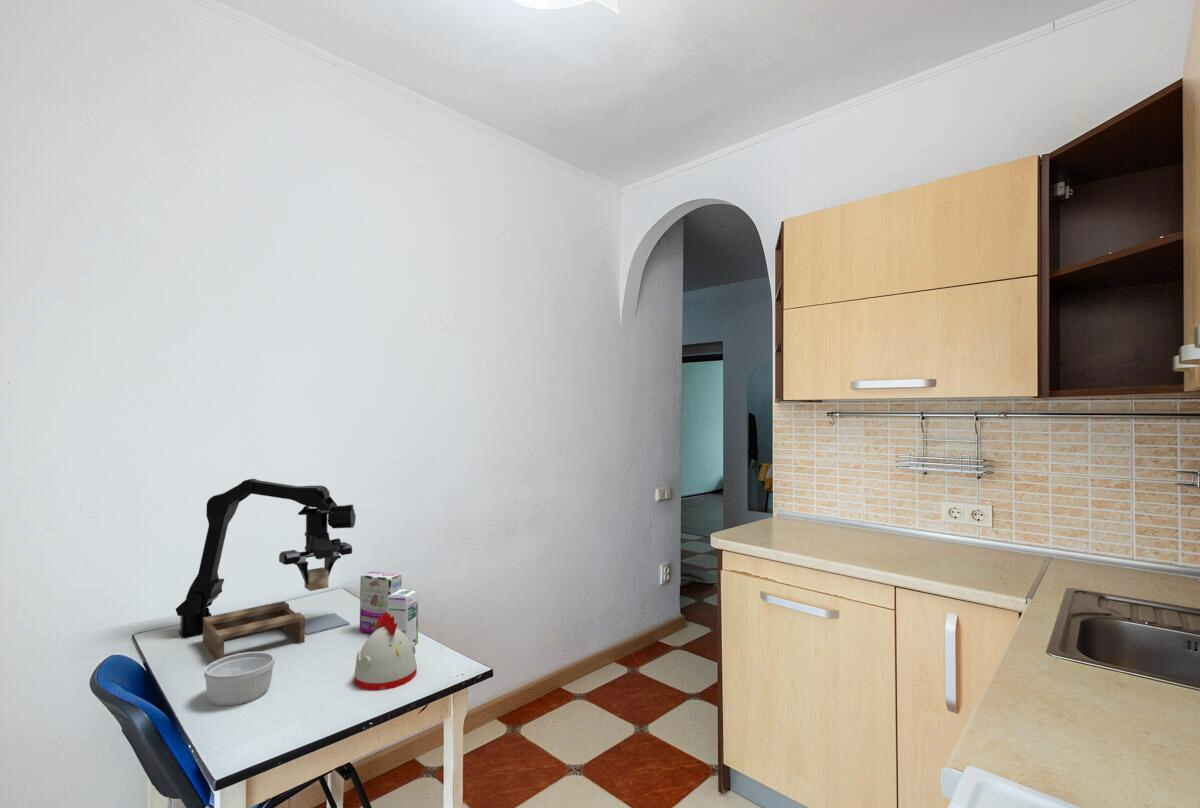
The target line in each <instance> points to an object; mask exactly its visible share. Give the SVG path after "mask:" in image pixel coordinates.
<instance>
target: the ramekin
mask: <svg viewBox="0 0 1200 808" xmlns="http://www.w3.org/2000/svg"><path fill="white" fill-rule="evenodd" d="M275 659H276V658H275V656H274V654H272V653H270V652H266V651H247V652H241V653H240V652H239V653H235V654H230V655H228V656H224V658H221V659H219V660H216V661H215V660H214V661H212V662H211V663H210V664H208V665H207V666H206V667H205V668H204V672H203V677H204V680H205V686H206V695H207V698H208V700H209V701H210V702H211V703H212V704H213V705H215V706H221V707H229V706H230V707H231V706H237V705H242V704H245V703H249V702H252V701H253V700H254V701H255V700H256V699H258V698H260V697H261V696H263V695H264V694H265V693H266V692H267V691H268V689H269V688H270V686H271V681H272V676H273V668H274V665H275Z"/></svg>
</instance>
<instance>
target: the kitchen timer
mask: <svg viewBox="0 0 1200 808" xmlns="http://www.w3.org/2000/svg"><path fill="white" fill-rule="evenodd" d="M377 622H378V628H379V629H377V630H376V631H375V632H374V633H373V634H370V635H369V637H368V638H367V639H366V641H365V643H364V644H363V645H362V647H361V650H360V651H358V652H357V653H356V661H355V663H356V664H355V666H354V667H355V668H354V679H353V680H354V684H355V686H356V687H358V688H360V689H362V690H367V691H383V690H384V691H385V690H389V689H395V688H398V687H401V686H403V685H406V684H407V683H409V682H411V681H412V680H413V679H414V678H415V677H416V675H417V670H418V669H417V668H418V667H417V660H416V656H415V654H416V647H415V645H416V644H415V645H414V642H411V643H410V641H409V640H408V638H407V637H406V635H405V634H404V633H403V632H402V631H401V630H399V629H398V628H396V627H397V623H396V624H394V616H393V617H391V616H390V614H387V612H385V613H383V615H382V616H380V619H377Z"/></svg>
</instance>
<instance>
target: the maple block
mask: <svg viewBox="0 0 1200 808" xmlns="http://www.w3.org/2000/svg"><path fill="white" fill-rule="evenodd" d="M329 577H330V574H329V570H327V569H325V568H324V567H317V568H311V569H308V584H305V583H304V589H306V590H308V591H309V592H312V591H313V592H314V591H318V590H322V589H328V588H329Z"/></svg>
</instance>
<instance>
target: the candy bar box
mask: <svg viewBox="0 0 1200 808" xmlns="http://www.w3.org/2000/svg"><path fill="white" fill-rule="evenodd" d="M399 589H402V575H401V574H396V573H388V572H378V571H369V572H367V573H364V574H361V575H360V592H359V593H360V594H359V595H360V597H359V600H360V601H359V603H360V605H359V633H363V634H367V633H368V635H372V634H373V633H374V632H375V631H376V630H377V629H379V628H378V622H377V619H380V616H382V615H383V613H385V612H387V614H388V596H389V595H391V594H393V593H395V592H397V591H398V590H399Z"/></svg>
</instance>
